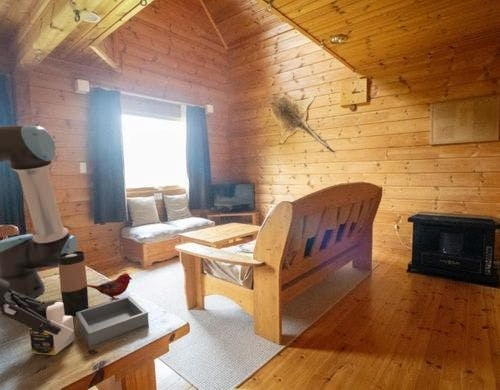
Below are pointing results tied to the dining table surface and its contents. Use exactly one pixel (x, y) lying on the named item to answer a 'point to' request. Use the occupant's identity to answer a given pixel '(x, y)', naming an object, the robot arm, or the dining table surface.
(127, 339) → the dining table surface
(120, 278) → the decorative bird figurine
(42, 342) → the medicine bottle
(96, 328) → the open-top bin
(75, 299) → the travel mug
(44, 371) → the dining table surface
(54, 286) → the dining table surface
